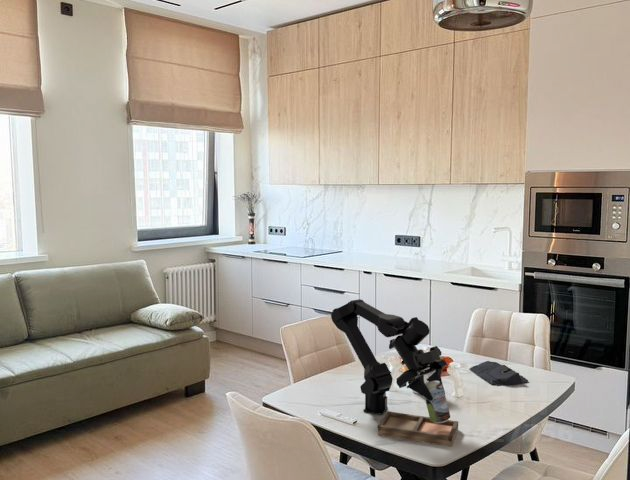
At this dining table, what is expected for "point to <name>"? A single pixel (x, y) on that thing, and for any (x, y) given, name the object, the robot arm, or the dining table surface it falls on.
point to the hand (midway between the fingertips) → (438, 397)
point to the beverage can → (437, 403)
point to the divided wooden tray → (418, 428)
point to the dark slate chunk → (498, 374)
